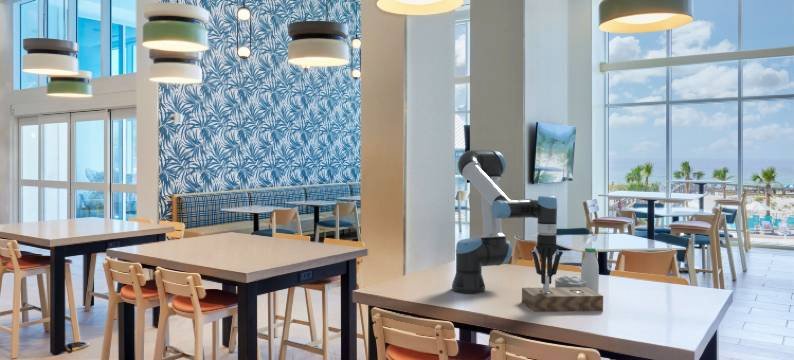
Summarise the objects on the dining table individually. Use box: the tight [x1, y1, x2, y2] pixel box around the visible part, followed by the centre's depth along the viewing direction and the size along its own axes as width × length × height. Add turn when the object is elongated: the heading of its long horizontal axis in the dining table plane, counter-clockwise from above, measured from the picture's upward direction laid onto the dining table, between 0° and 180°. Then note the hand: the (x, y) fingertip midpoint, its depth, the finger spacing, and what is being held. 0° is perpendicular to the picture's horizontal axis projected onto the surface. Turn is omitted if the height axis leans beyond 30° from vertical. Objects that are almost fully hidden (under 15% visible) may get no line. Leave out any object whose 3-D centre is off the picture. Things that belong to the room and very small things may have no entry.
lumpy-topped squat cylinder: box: [554, 275, 587, 288], centre depth 251 cm, size 10×13×9 cm
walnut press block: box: [521, 287, 604, 313], centre depth 234 cm, size 28×16×6 cm, turn 94°
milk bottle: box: [580, 247, 600, 293], centre depth 261 cm, size 8×8×20 cm
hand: (546, 291), depth 233 cm, fingers closed
